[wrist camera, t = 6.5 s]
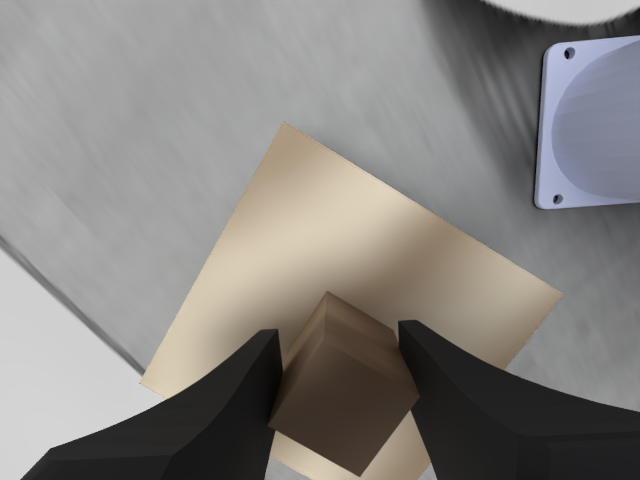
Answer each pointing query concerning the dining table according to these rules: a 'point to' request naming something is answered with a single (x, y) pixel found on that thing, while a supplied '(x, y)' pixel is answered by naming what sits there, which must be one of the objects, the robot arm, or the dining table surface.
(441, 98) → the dining table surface
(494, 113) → the dining table surface
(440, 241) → the birch lid
